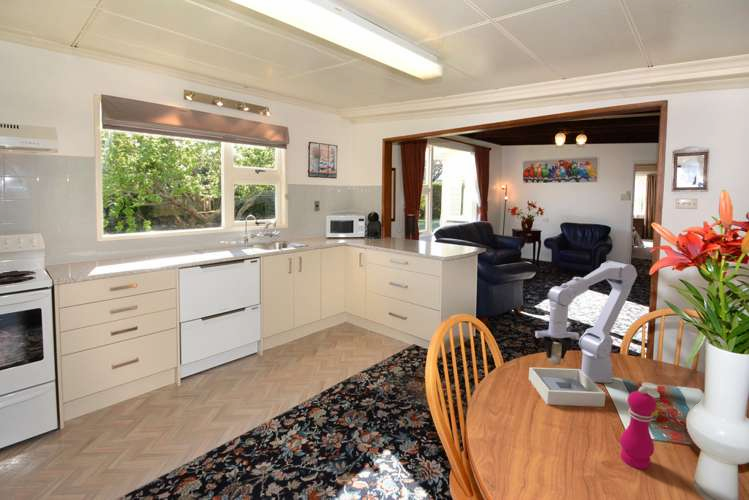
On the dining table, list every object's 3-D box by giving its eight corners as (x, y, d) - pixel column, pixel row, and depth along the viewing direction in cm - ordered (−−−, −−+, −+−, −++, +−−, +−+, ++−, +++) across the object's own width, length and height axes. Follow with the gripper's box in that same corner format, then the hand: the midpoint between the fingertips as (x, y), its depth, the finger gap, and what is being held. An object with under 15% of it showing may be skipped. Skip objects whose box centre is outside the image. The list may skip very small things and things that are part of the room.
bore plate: (575, 383, 144) (575, 378, 144) (591, 400, 132) (592, 395, 132) (541, 382, 144) (541, 377, 144) (554, 399, 132) (554, 393, 132)
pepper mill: (621, 448, 108) (628, 377, 106) (653, 460, 104) (662, 386, 101) (616, 461, 103) (624, 387, 100) (650, 474, 98) (659, 397, 96)
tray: (578, 380, 148) (579, 369, 147) (604, 406, 130) (605, 393, 129) (528, 379, 148) (529, 367, 148) (547, 404, 131) (548, 391, 130)
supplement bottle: (651, 423, 121) (655, 391, 119) (631, 414, 125) (635, 383, 124) (660, 418, 124) (664, 386, 122) (640, 409, 128) (643, 379, 127)
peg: (557, 360, 147) (559, 342, 146) (562, 365, 143) (564, 346, 142) (546, 360, 147) (548, 341, 147) (550, 364, 143) (552, 345, 143)
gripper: (574, 317, 147) (571, 353, 148) (533, 316, 147) (530, 352, 149) (583, 324, 140) (579, 361, 142) (540, 322, 140) (537, 359, 142)
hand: (555, 357), depth 145 cm, fingers closed on peg, 4 cm apart
